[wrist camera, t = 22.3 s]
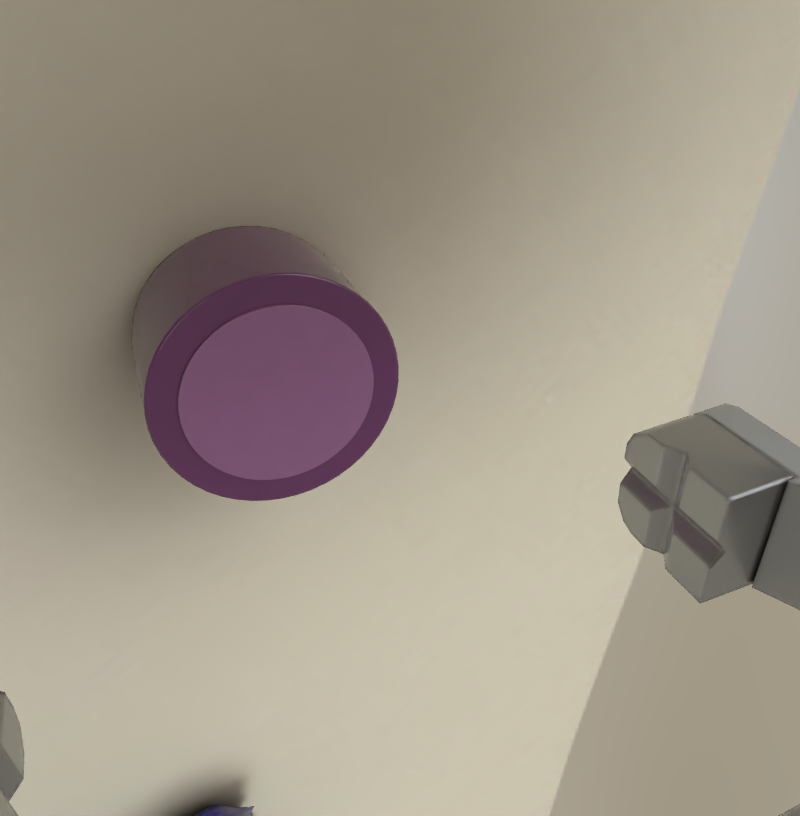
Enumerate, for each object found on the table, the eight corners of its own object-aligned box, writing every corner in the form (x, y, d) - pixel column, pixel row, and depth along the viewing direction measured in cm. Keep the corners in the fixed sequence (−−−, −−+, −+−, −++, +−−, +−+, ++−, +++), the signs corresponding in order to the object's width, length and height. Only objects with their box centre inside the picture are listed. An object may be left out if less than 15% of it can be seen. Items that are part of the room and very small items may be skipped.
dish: (101, 248, 16) (110, 307, 14) (341, 207, 18) (392, 250, 15) (162, 451, 20) (179, 532, 17) (360, 399, 22) (406, 465, 19)
